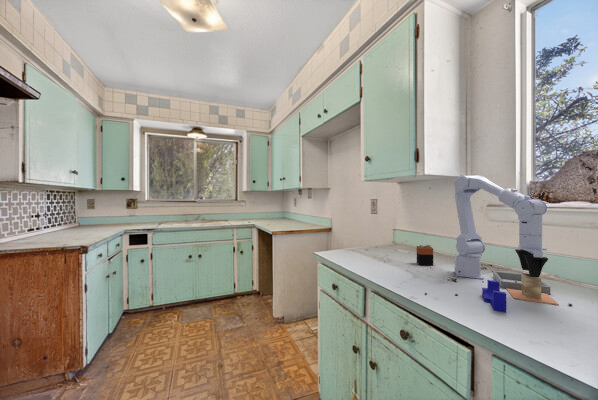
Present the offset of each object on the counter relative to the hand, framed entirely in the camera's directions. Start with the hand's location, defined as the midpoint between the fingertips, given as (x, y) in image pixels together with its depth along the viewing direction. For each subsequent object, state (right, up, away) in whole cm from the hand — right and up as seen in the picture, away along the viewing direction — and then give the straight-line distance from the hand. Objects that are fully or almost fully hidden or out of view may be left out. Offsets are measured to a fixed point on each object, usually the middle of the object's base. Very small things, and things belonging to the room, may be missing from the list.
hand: (530, 273), depth 83 cm
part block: (0, -8, 0) cm, 8 cm away
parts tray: (+6, -8, +11) cm, 15 cm away
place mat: (0, -8, 0) cm, 8 cm away
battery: (-15, -8, +40) cm, 44 cm away
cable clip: (-16, -9, -4) cm, 19 cm away
